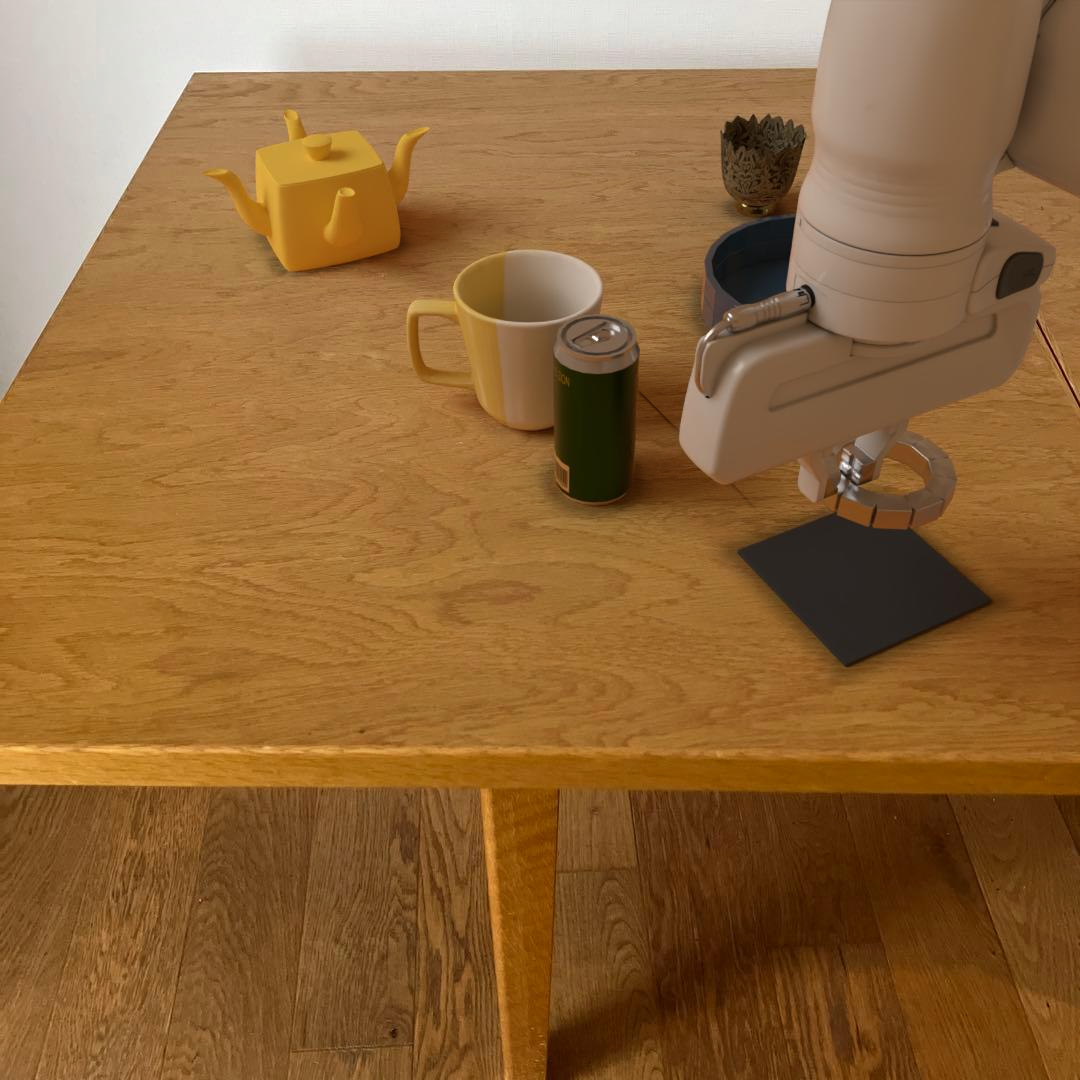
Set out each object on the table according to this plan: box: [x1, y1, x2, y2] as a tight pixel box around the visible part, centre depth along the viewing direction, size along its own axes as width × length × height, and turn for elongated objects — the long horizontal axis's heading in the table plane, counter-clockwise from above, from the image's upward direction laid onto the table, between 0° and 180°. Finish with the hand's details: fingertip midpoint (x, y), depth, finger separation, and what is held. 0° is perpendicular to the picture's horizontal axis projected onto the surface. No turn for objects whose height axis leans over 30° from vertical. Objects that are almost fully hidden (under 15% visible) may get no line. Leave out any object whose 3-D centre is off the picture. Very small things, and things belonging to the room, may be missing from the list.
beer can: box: [553, 313, 641, 507], centre depth 78 cm, size 5×5×12 cm
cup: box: [719, 113, 807, 219], centre depth 107 cm, size 8×7×8 cm
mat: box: [736, 511, 993, 668], centre depth 74 cm, size 11×11×1 cm
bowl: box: [700, 213, 796, 331], centre depth 95 cm, size 18×18×4 cm
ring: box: [820, 429, 958, 530], centre depth 69 cm, size 8×8×1 cm
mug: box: [405, 248, 605, 432], centre depth 85 cm, size 14×10×10 cm
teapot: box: [200, 108, 430, 272], centre depth 104 cm, size 15×14×10 cm
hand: (837, 485), depth 67 cm, fingers closed on ring, 1 cm apart
